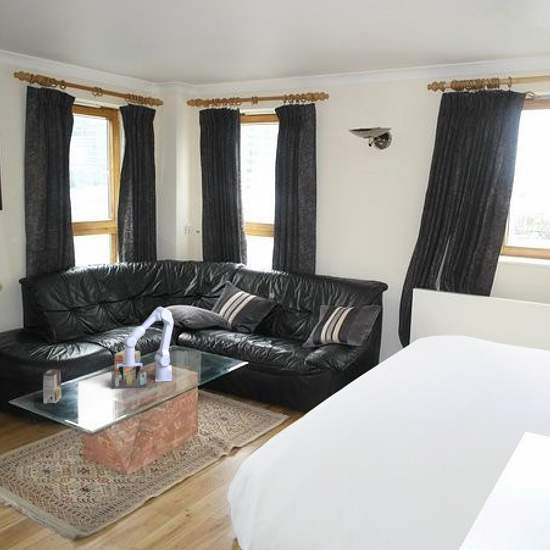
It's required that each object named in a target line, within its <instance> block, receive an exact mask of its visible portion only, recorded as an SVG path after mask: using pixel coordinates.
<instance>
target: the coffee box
mask: <svg viewBox="0 0 550 550" xmlns="http://www.w3.org/2000/svg"><path fill="white" fill-rule="evenodd" d="M61 375H62V372H61V369H54V368H53V369H51V368H50V369H48V370H47V371H45V372H44V373H43V374H42V387H43V388H42V389H43V393H42V394H43V396H42V397H43V404H47V403H55V404H56V403H57V402H59V399H60V398H61V399H62V376H61ZM61 399H60V400H61Z"/></svg>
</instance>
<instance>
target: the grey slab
mask: <svg viewBox="0 0 550 550" xmlns="http://www.w3.org/2000/svg"><path fill="white" fill-rule="evenodd" d="M139 388H140V389H141V388H145V389H146V388H148V379H147V378H146V384H144V385H140V378H137V379H132V385H127V379H124V380H122V379H120V374H117V373H115V372H114V373H112V374H111V390H117V389H139Z"/></svg>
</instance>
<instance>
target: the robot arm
mask: <svg viewBox="0 0 550 550" xmlns="http://www.w3.org/2000/svg"><path fill="white" fill-rule="evenodd" d="M172 315H173V313H172V311H170V310H169V309H166V308H164V307H162V306H158V307H156V308H155V309H154V310H153V312H151V314H150V316H148V318H146V320H144V322H143V323H142V324H141V325H139V326H136V327H135V328H133V329H134V330H132V332H130V333H129V334H128V335H126V336H125V337H124V338H123V340H122V342H123V344H124V350H125V363H121V364H117V368H119V371H120V373H121V374H120V375H121V380H125V379H124V378H125V377H124V375H125V374H123V367H135V380H137V379H138V375H139V374H140V373H139V372H140V371H141V368H143V362H140V363H135V351H136V349H135V346H137V342H138V341H139V340H140V339H141V337H143V336H144V335H145V334H146V330H147V329H148V328H149V327H150V326H151V325H153V324H154V323H155V322H159V321H160V322H161V321H162V322H163V329H162V334H161V340H160V345H159V348H158V350H157V351H156V354H155V356H154V361H155V363H156V364H155V378H154V380H155V382H156V383H157V382H159V383H161V382H172V379H173V374H172V373H173V372H172V371H173V370H172V364H170V363H171V358H170V352H169V349H170V344H171V339H172V334H173V330H174V329H173V328H174V318H173V316H172Z"/></svg>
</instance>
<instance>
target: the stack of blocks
mask: <svg viewBox="0 0 550 550" xmlns="http://www.w3.org/2000/svg"><path fill="white" fill-rule="evenodd" d="M121 363H125V349H122V350H121V351H119V352H116V353H115V354H114V374H115V373H116V375H121V373H120V371H119V368H117V364H121ZM135 363H141V351H139V350H135ZM133 368H134V367H123V375H125V374H128V373H129V372H130V370H131V371H132V370H133ZM134 369H135V368H134Z"/></svg>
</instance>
